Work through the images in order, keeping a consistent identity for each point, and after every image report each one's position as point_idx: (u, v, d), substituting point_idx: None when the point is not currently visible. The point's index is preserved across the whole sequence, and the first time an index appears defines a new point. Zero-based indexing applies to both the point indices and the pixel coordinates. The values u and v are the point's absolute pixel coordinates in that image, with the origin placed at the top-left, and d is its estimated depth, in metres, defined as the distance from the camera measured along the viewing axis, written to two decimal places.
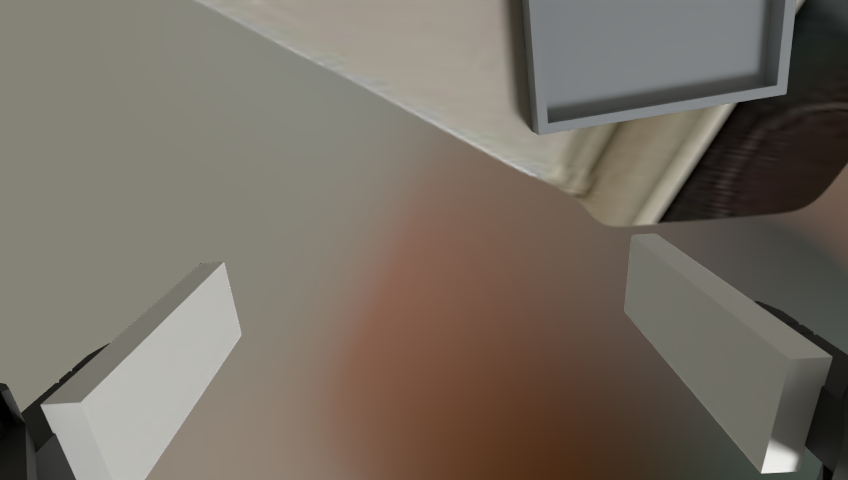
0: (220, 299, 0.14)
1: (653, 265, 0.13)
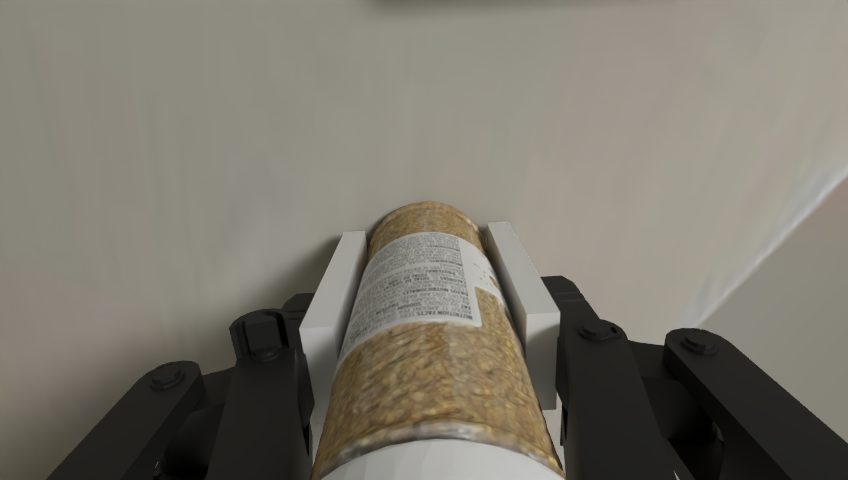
0: (365, 263, 0.16)
1: (493, 247, 0.15)
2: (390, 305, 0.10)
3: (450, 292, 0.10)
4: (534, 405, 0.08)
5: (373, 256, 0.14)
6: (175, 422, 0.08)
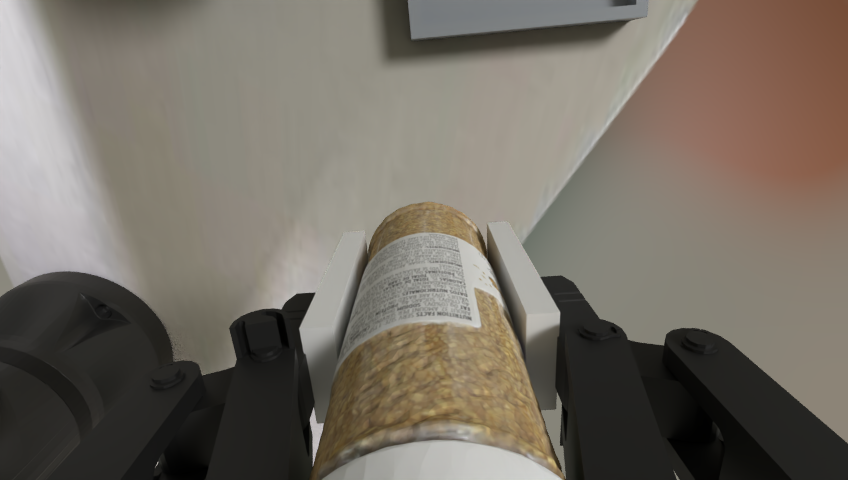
0: (365, 263, 0.16)
1: (493, 247, 0.15)
2: (389, 306, 0.10)
3: (449, 293, 0.10)
4: (533, 406, 0.08)
5: (373, 257, 0.14)
6: (175, 422, 0.08)
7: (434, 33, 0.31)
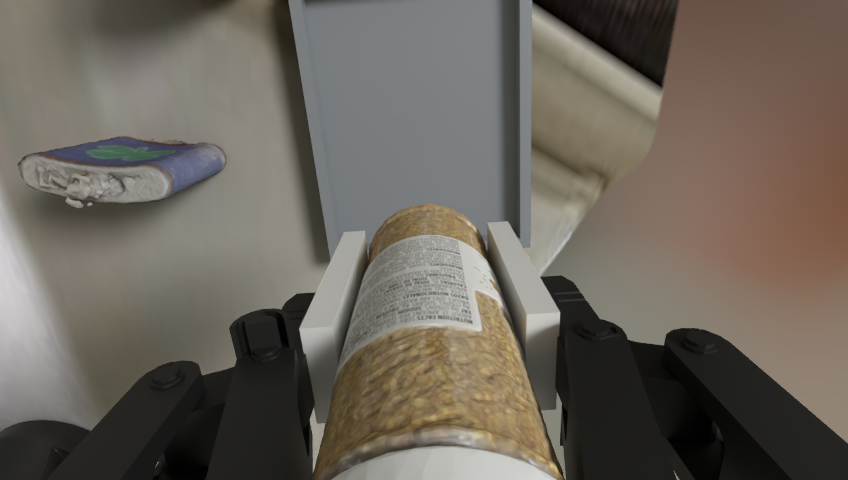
0: (365, 263, 0.16)
1: (493, 247, 0.15)
2: (390, 310, 0.10)
3: (450, 296, 0.10)
4: (534, 410, 0.08)
5: (373, 259, 0.14)
6: (175, 422, 0.08)
7: None
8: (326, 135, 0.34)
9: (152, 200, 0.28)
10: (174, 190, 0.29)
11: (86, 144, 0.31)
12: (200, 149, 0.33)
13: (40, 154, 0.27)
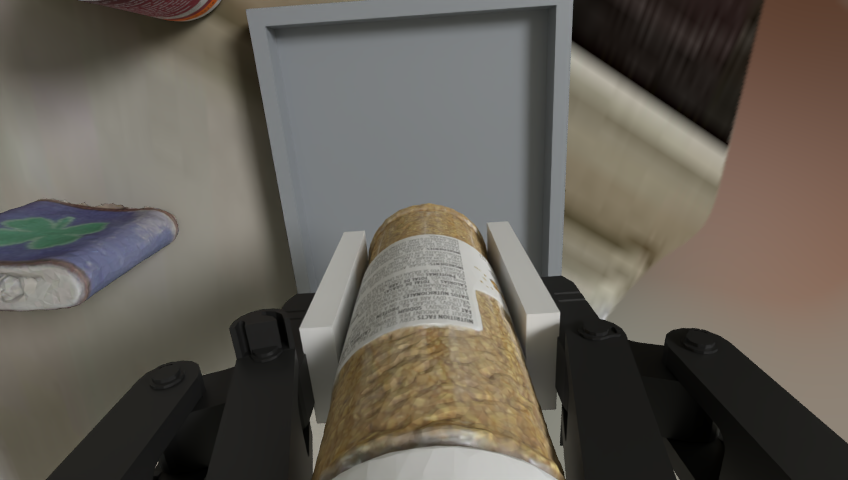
0: (365, 263, 0.16)
1: (493, 247, 0.15)
2: (391, 309, 0.10)
3: (450, 296, 0.10)
4: (535, 410, 0.08)
5: (373, 258, 0.14)
6: (175, 422, 0.08)
7: None
8: (303, 201, 0.27)
9: (61, 307, 0.21)
10: (92, 292, 0.21)
11: None
12: (140, 221, 0.26)
13: None
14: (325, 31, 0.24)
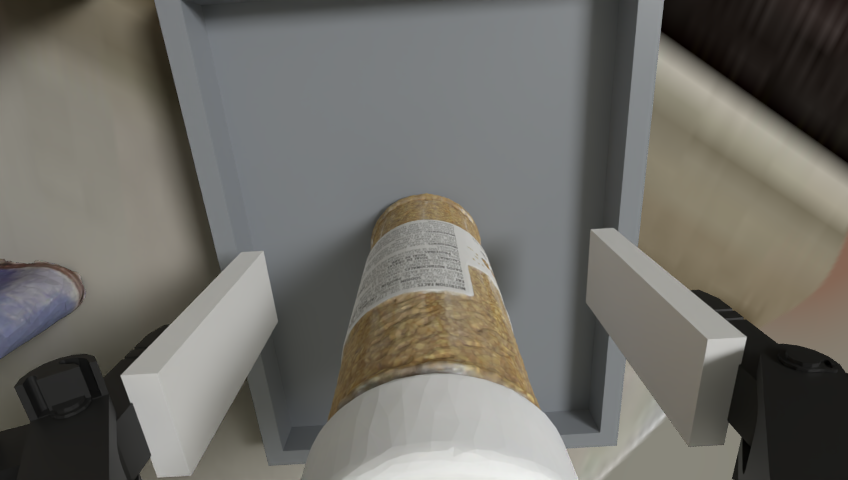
0: (261, 286, 0.15)
1: (607, 257, 0.14)
2: (394, 279, 0.11)
3: (446, 268, 0.11)
4: (517, 359, 0.09)
5: (376, 242, 0.16)
6: None
7: (302, 460, 0.21)
8: None
9: None
10: None
11: None
12: (15, 289, 0.18)
13: None
14: (279, 9, 0.16)
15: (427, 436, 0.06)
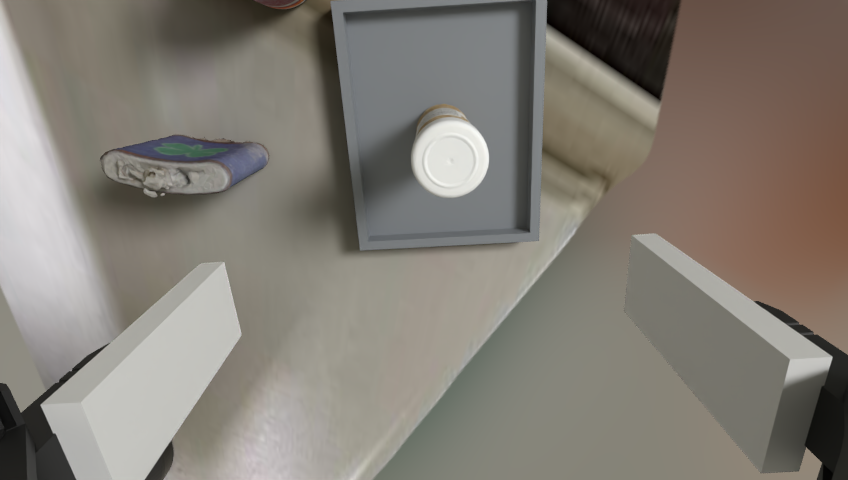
0: (220, 299, 0.14)
1: (653, 265, 0.13)
2: (433, 115, 0.31)
3: (452, 113, 0.31)
4: None
5: None
6: None
7: (377, 247, 0.41)
8: (359, 137, 0.39)
9: (213, 192, 0.33)
10: (232, 183, 0.33)
11: (152, 141, 0.35)
12: (249, 147, 0.38)
13: (119, 150, 0.32)
14: (380, 16, 0.35)
15: (447, 119, 0.26)
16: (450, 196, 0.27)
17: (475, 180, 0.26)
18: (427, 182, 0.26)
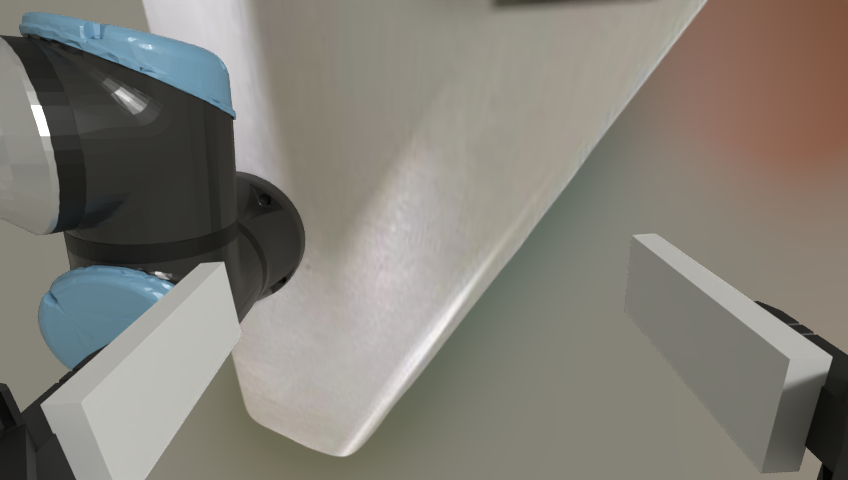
0: (220, 299, 0.14)
1: (653, 265, 0.13)
2: None
3: None
4: None
5: None
6: None
7: None
8: None
9: None
10: None
11: None
12: None
13: None
14: None
15: None
16: None
17: None
18: None
